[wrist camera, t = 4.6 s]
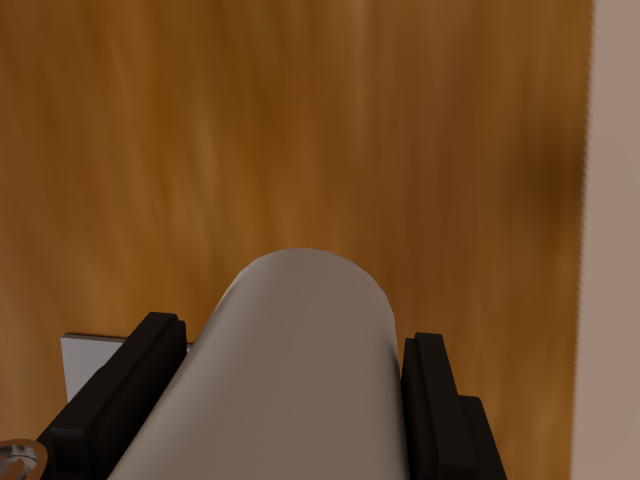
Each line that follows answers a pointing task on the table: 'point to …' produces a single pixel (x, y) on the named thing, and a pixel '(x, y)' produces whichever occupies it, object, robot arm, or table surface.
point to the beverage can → (283, 383)
